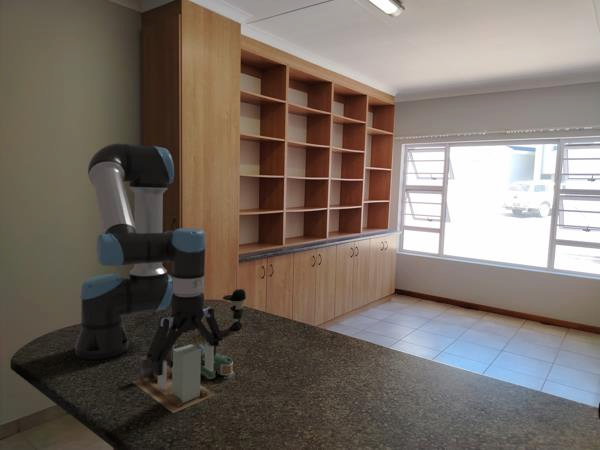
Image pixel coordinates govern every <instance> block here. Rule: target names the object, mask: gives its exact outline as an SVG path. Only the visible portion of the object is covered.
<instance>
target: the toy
mask: <svg viewBox="0 0 600 450" xmlns="http://www.w3.org/2000/svg"><path fill="white" fill-rule="evenodd" d="M246 298H247V296H246V292H245V289H241V288H238V289H235V290H234V291H233V292H232V294H229V295H228V294H227V295H224V296H222V299H223V300H225V301H228V302H230V310H231V311H232V312H233V315H232V319H231V320H232V321H231V322H232V323H231V326H230V327H229V329H230V330H234V331H239V330H241V328H242V327H243V324H242V322H241V320H242V318H243V316H244V306H245V300H246Z"/></svg>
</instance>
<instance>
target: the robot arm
mask: <svg viewBox="0 0 600 450" xmlns="http://www.w3.org/2000/svg"><path fill="white" fill-rule="evenodd" d="M174 166H175V165H174V161H173V157H172V155H171V153H170V151H169V150H168V149H167V148H165V147H160V146H155V145H144V144H143V145H142V144H140V145H139V144H129V143H128V144H126V143H119V142H118V143H111V144H108V145H106V146H104V147H102V148H101V149H99V150H98V151H97V152H96V153H94V155H93V156H92V158H91V159H90V162H89V163H88V168H87V174H88V179H89V181H90V183H91V184H92V185H93V186H94V189H95V190H94V191H95V195H96V201H97V205H98V212H99V215H100V222H101V226H102V231H103V234H100V235H98V236H97V238H96V239H97V241H96V255H97V257H96V258H97V261H98V264H100V265H101V266H104V267H105V266H110V267H111V266H113V267H114V266H118V267H119V266H126V265H133V268H132V269H131V270H129V272H128V273H129V274H128V275H129V276H128V277H126V278H124V277H123V275H122V274H120V273H108V274H107V273H106V274H101V275H96V276H94V277H90V278H88V279H86V280H85V281H84V282H83V283H82V285H81V292H80V300H81V309H80V310H81V318H80V319H81V321H80V322H81V324H80V325H81V328H80V332H79V334H78V337H77V339H76V342H75V346H74V349H75V350H74V353H75V354H74V355H75V356H76V357H78V358H81V359H84V360H102V359H103V360H105V359H108V358H113V357H116V356H119V355H122V354H123V353H125V352H126V351H127V350H128V349H129V338H128V335H127V333H126V329H125V327H124V323H123V319H124V318H123V317H124V316H127V315H137V314H144V313H156V312H159V311H163V310H166V309H167V308H168V307H169V306H170V304H171V311H172V313H171V316H169V317H164V316H161V317H160V318H159V320H158V328H157V330H156V332H155V334H154V337H153V339H152V342H151V345H150V347H149V348H148V352H147V354H146V355H145V356H146V358H147V359H148V360H150V361H151V362H155V374H156V375H158V386H159V387H161V388H162V389H166V388H167V361H165V360H164V359H165V358H166V356H167V354H168V353H169V351H170V350H171V348H172V347H174V346H173V345H174V344H175V343H176V342H177V341H178V338H180V337H181V336H182V335H183V334H185V333H188V332H190V331H195V330H197V331H198V332H199V333H200V334H201V335H202V337H203V338H204V339H205V340H206V341H207V343H205V344H204V347H205V369H207V370H209V371H213V362H214V356H215V355H216V353H217V347H218V346H219V345H220V342H222V341H223V339H224V338H223V335H222V333H221V330H220V328H219V327H220V326H219V325H218V323H217V320H216V318H215V309H214V308H212V307H210V306H205V294H204V293H203V292H204V291H205V267H206V266H205V263H206V262H205V261H206V260H205V259H206V246H207V243H206V233H205V231H204V230H202V229H200V228H193V227H192V228H190V227H189V228H187V227H185V228H183V227H181V228H177V229H174V230H166V231H165V232H163V229H164V228H163V220H164V217H163V213H164V212H163V208H164V207H163V206H164V201H163V200H164V197H163V195H164V193H165V192H166V191H167V190H168V187H169V185H170V184H172V183H173V182H174V177H175V167H174ZM124 182H127V183H129V186H128V187H129V189H130V190H131V191H132V192H133V193H134V194H133V195H134V217H133V213H132V210H131V206H130V202H129V198H128V194H127V191H126V187H125V183H124ZM163 263H172V265H171V267H172V268H171V270H172V274H171V275H170V274H168V270H167V269H166V267H164V265H163ZM203 317H205V321H206V323H207V325H208V328H209V329H210V331H209V329H207V328H206V326H205V325H206V324H204V323H203V322H202V320H203ZM171 324H172V325H171Z"/></svg>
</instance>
